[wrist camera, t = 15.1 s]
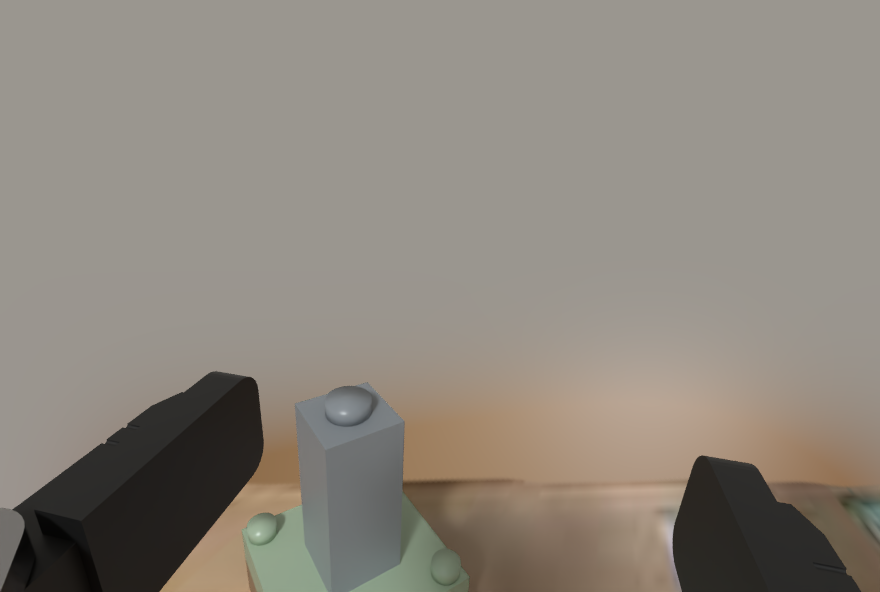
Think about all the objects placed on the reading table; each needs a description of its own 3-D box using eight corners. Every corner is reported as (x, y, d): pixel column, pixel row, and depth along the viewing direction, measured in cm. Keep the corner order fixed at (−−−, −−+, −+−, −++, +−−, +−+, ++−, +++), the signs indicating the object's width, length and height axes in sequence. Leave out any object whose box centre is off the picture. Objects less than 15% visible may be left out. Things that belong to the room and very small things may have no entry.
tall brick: (367, 514, 37) (367, 369, 32) (399, 563, 33) (405, 407, 28) (304, 544, 34) (293, 389, 29) (332, 600, 30) (324, 435, 26)
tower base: (384, 521, 44) (385, 460, 41) (463, 635, 35) (470, 566, 32) (249, 586, 37) (240, 519, 35) (302, 747, 28) (295, 672, 26)
